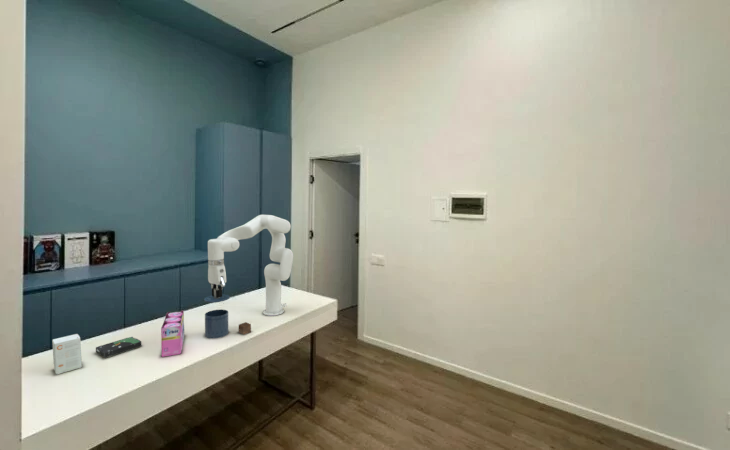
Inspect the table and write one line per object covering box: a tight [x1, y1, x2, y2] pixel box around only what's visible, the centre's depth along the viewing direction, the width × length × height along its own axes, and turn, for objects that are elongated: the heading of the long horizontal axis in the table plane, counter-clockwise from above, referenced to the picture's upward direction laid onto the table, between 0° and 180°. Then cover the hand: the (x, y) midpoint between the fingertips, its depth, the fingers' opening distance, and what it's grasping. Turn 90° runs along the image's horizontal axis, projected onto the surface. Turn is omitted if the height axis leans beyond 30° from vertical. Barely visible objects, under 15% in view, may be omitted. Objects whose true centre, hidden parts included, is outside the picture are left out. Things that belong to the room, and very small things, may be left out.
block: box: [238, 321, 252, 336], centre depth 173 cm, size 4×4×4 cm
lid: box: [203, 288, 231, 304], centre depth 169 cm, size 12×12×6 cm
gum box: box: [160, 310, 185, 358], centre depth 156 cm, size 24×8×14 cm, turn 26°
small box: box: [51, 333, 83, 375], centre depth 133 cm, size 8×6×13 cm
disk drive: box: [95, 336, 142, 359], centre depth 151 cm, size 10×3×15 cm
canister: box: [204, 308, 229, 339], centre depth 170 cm, size 11×11×12 cm
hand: (217, 296), depth 170 cm, fingers closed on lid, 3 cm apart
